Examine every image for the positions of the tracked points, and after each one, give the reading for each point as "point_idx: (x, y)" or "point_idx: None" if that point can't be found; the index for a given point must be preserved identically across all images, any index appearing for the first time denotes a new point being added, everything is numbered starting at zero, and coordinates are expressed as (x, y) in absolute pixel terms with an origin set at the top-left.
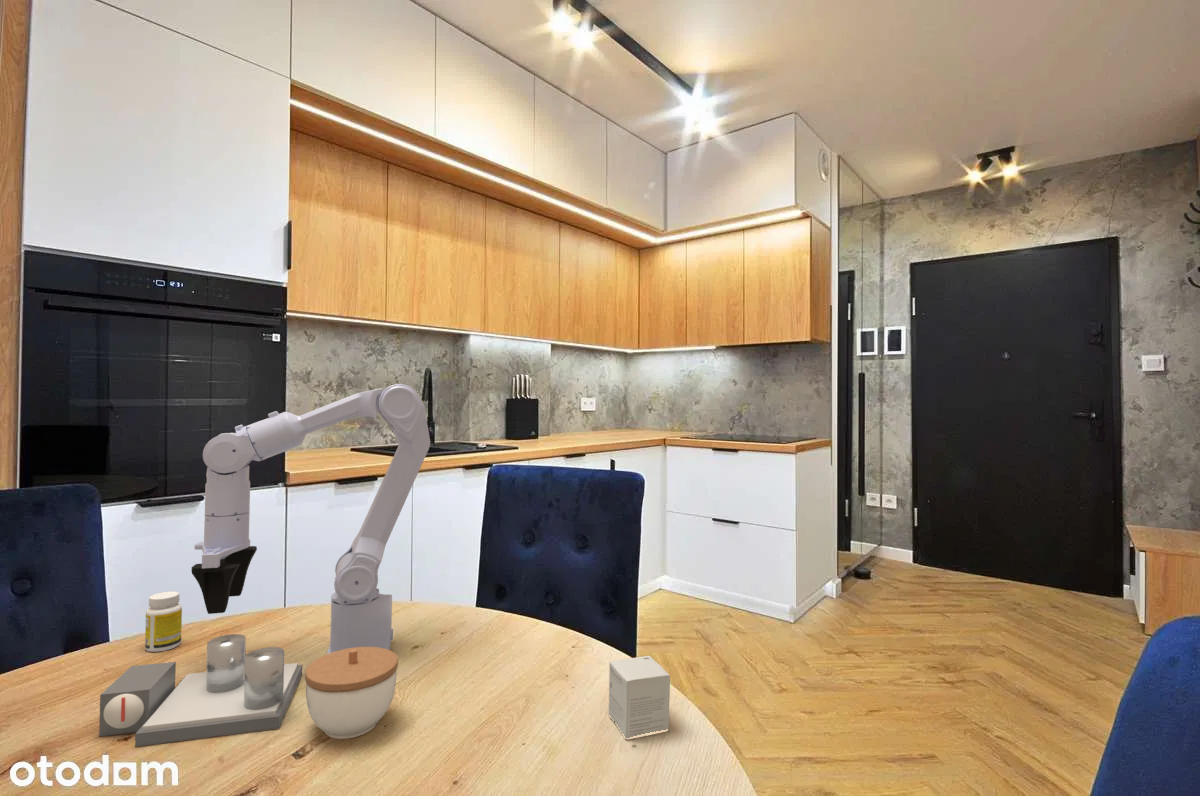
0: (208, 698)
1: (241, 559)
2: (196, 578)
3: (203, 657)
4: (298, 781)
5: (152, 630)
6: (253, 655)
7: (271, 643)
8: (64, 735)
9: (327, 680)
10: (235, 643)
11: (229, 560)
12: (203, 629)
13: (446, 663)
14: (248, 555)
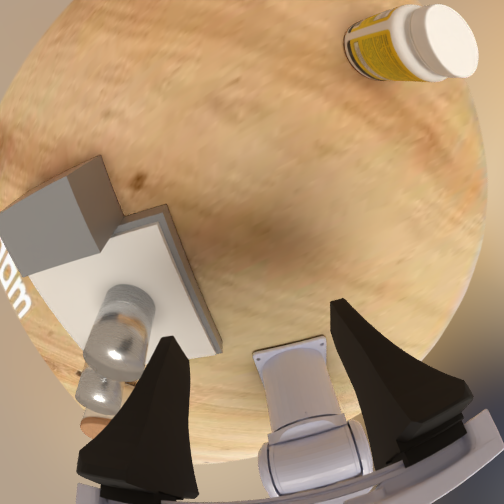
0: (92, 302)
1: (373, 433)
2: (95, 439)
3: (308, 158)
4: (60, 377)
5: (367, 31)
6: (88, 397)
7: (355, 252)
8: (23, 140)
9: (84, 431)
10: (107, 377)
11: (381, 418)
12: (442, 98)
13: (250, 417)
14: (374, 451)
